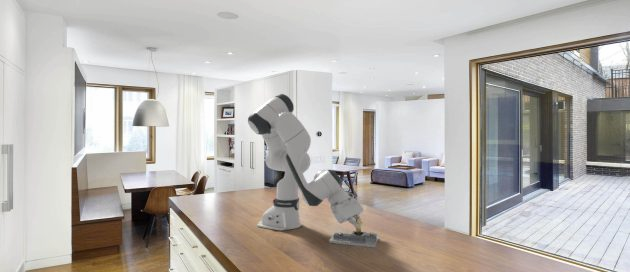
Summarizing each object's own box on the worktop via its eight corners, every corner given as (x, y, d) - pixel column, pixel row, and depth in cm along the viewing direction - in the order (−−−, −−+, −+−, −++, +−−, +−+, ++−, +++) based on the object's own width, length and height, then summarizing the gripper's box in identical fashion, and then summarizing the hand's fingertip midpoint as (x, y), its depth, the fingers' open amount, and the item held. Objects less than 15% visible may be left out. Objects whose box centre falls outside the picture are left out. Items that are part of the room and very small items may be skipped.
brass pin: (355, 237, 148) (355, 219, 148) (356, 235, 151) (356, 217, 151) (360, 237, 148) (360, 219, 148) (361, 236, 150) (361, 218, 150)
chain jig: (328, 242, 147) (328, 233, 147) (335, 234, 159) (335, 226, 159) (375, 247, 142) (375, 238, 142) (378, 238, 153) (378, 229, 153)
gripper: (333, 200, 144) (354, 226, 139) (354, 193, 161) (372, 216, 156) (324, 209, 146) (344, 235, 141) (345, 201, 164) (363, 224, 159)
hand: (359, 225), depth 149 cm, fingers closed on brass pin, 2 cm apart
